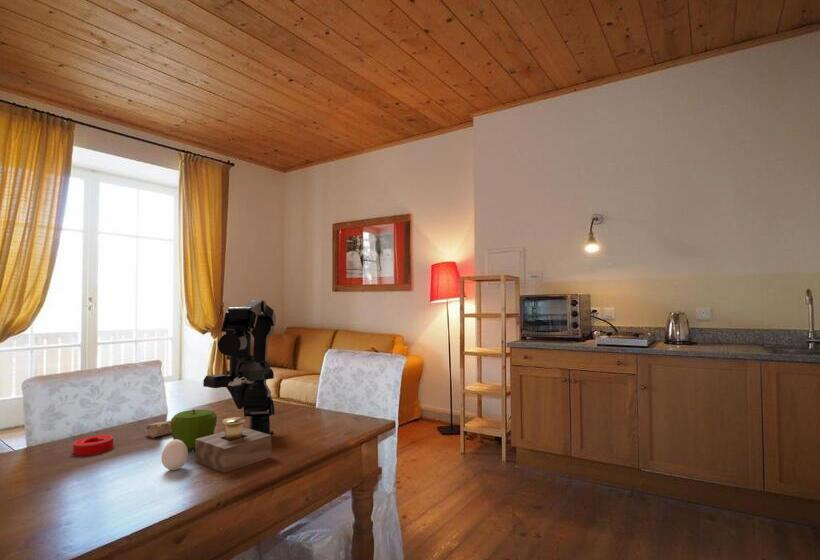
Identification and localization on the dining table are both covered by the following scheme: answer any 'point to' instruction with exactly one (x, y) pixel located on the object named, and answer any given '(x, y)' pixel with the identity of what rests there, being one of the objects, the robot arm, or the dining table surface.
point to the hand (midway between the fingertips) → (240, 408)
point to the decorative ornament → (93, 445)
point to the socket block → (232, 450)
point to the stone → (159, 429)
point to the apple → (193, 426)
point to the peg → (233, 428)
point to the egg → (174, 455)
